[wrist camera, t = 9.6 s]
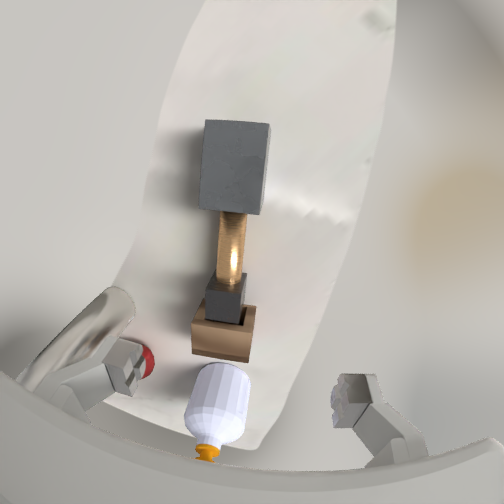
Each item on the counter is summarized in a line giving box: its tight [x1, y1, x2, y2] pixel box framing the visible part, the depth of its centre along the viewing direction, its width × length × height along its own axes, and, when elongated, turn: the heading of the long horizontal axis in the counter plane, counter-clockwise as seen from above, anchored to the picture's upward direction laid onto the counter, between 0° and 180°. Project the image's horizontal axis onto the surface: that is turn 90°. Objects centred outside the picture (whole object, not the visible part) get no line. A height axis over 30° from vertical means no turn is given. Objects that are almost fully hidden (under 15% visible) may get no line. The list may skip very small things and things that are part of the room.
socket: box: [191, 299, 256, 363], centre depth 35 cm, size 5×7×6 cm
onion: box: [141, 344, 155, 379], centre depth 39 cm, size 6×6×8 cm
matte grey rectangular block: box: [199, 120, 271, 215], centre depth 28 cm, size 9×6×6 cm
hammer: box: [205, 211, 247, 325], centre depth 33 cm, size 17×4×6 cm, turn 174°
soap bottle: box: [184, 363, 251, 463], centre depth 32 cm, size 9×9×25 cm
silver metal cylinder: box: [15, 287, 136, 393], centre depth 28 cm, size 6×6×25 cm
